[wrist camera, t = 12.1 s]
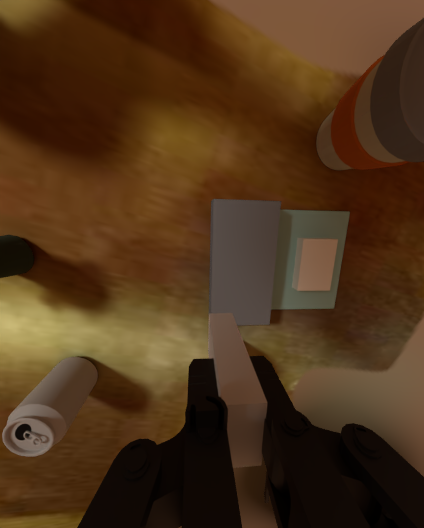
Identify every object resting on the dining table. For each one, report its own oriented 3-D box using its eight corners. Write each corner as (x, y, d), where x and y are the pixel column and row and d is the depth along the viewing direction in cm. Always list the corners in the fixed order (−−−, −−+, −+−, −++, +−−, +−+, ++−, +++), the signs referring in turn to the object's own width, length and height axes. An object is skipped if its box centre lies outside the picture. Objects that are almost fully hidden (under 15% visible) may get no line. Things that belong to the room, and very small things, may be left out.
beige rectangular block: (338, 239, 34) (330, 238, 36) (303, 238, 33) (297, 237, 35) (329, 290, 36) (322, 286, 38) (297, 290, 35) (291, 286, 37)
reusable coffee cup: (374, 181, 34) (506, 153, 20) (302, 183, 33) (386, 155, 19) (385, 95, 32) (548, -11, 17) (307, 95, 31) (410, -17, 16)
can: (67, 347, 36) (7, 407, 25) (106, 363, 38) (67, 428, 26) (51, 378, 37) (-15, 451, 26) (90, 393, 39) (44, 469, 27)
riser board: (211, 201, 33) (213, 199, 29) (271, 203, 34) (281, 201, 30) (208, 314, 37) (210, 325, 33) (261, 313, 38) (269, 324, 34)
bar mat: (270, 209, 34) (271, 209, 34) (348, 211, 35) (350, 211, 35) (262, 308, 38) (262, 309, 38) (333, 307, 39) (334, 308, 39)
